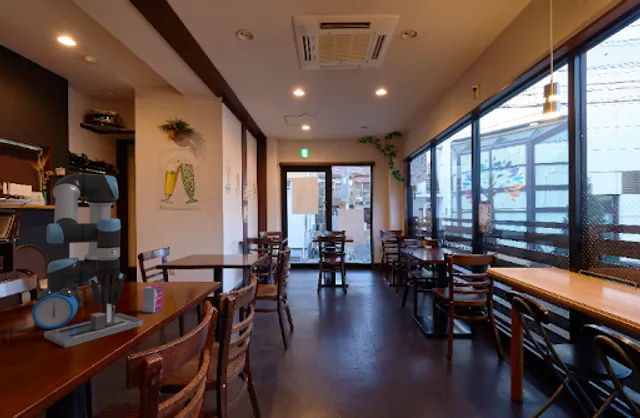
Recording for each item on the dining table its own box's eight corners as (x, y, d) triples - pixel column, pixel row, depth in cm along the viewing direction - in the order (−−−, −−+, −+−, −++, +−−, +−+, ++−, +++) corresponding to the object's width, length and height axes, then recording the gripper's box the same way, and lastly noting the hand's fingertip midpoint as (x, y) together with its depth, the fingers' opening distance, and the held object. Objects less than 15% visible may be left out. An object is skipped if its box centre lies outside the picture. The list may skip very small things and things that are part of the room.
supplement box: (153, 313, 144) (154, 288, 144) (142, 313, 145) (142, 287, 145) (162, 310, 150) (162, 285, 150) (151, 309, 151) (151, 284, 151)
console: (44, 337, 115) (44, 331, 115) (120, 318, 138) (120, 312, 138) (65, 347, 106) (65, 340, 107) (142, 325, 129) (142, 319, 129)
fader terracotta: (90, 327, 119) (90, 313, 119) (99, 325, 121) (99, 311, 121) (95, 329, 116) (95, 315, 117) (104, 327, 119) (104, 313, 119)
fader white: (101, 318, 129) (101, 306, 129) (109, 316, 132) (109, 304, 132) (106, 320, 127) (106, 307, 127) (114, 318, 130) (114, 305, 130)
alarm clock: (30, 331, 121) (31, 292, 121) (37, 326, 127) (38, 288, 127) (73, 326, 127) (74, 288, 127) (77, 322, 132) (78, 285, 133)
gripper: (94, 261, 115) (92, 327, 114) (131, 257, 126) (130, 318, 125) (84, 260, 119) (82, 324, 118) (120, 256, 130) (119, 315, 129)
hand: (107, 321), depth 122 cm, fingers closed
